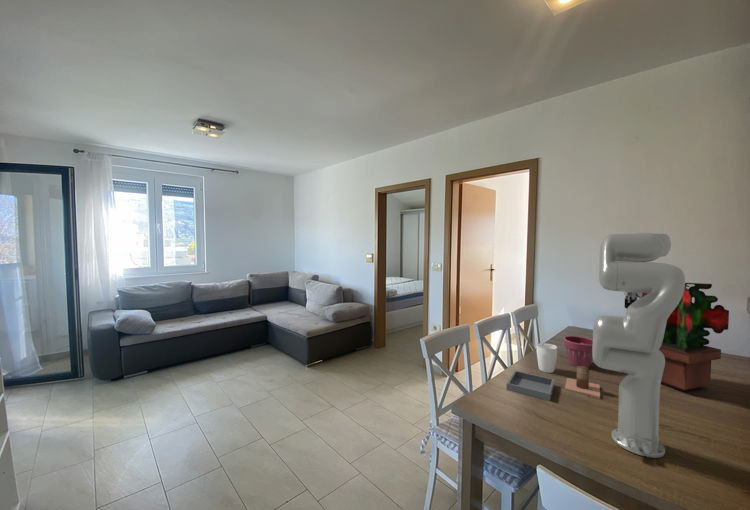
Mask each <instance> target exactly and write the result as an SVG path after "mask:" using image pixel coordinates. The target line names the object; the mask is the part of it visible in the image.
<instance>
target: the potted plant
mask: <svg viewBox="0 0 750 510" xmlns="http://www.w3.org/2000/svg"><path fill="white" fill-rule="evenodd" d="M690 285H692V286H690ZM712 287H713V284H712V283H702V282H701V283H700V282H699V283H697V282H685V288H684V292H683V295H682V298H681V300H680V302H679V304H678V305H677V307H676V308H675V309H674V310H673V312H672V313H671V314H670V316H669V317H668V319H667V323H666V328H665V333H664V338H663V342H662V345H661V347H660V348H659V350H660V351H661V352H662V353H663V355H664V357H665V367H664V371H663V375H662V379H661V385H664V386H666V387H669V388H671V389H674V390H676V391H679V392H687V391H691V390H696V389H697V388H698V389H701V388H702V387H706V386H710V385H711V376H712V375H711V374H712V361H715V360H721V359H722V349H720V348H716V347H712V346H708V345H709V344H710V340H709V339H708V338H705V337H708V336H710V334H711V333H710V331H709V330H708V329H710V330H711V329H712V331H713V332H714V333H715V334H723V332H724V331H728V330H729V320H730V318H729V317H730V311H729V310H728V309H726V308H725V307H724V306H723V305H722V304H716V305H714V306H713V307H712V303H713V304H715V303H717V302H718V301H719V298H718V297H717V296H715V295H707V294H705V292H704V291H703V290H709V289H711V288H712ZM647 294H648V293H642V297H644V296H646V295H647ZM639 298H640V297H639V296H638V295H637V299H639ZM693 298H694V301H693Z"/></svg>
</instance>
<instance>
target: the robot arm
mask: <svg viewBox="0 0 750 510" xmlns="http://www.w3.org/2000/svg"><path fill="white" fill-rule="evenodd" d="M671 242H672V241H671V238H670V236H669V234H667V233H652V232H637V233H612V234H608V235H606V236H604V238H603V239H602V241H601V244H600V247H599V264H598V265H599V267H598V269H599V270H598V278H599V280H598V281H599V284H600V286H601V287H602V288H603V289H604V290H607V291H612V292H623V293H624V296H625V297H624V308H625V309H626V310H625V312H626V313H625V317H624V316H618V315H617V316H616V315H601V316H598V317H597V318H596V319H595V320H594V323H593V329H592V330H593V331H592V340H593V345H592V357H593V359H592V362H594V365H596V366H597V367H599V368H600V369H604V370H608V371H614V372H618V373H625V374H627V375H626V376H625V377H623V378H622V379H621V381H620V383H619V386H618V411H617V413H618V415H617V419H618V421H617V428H615V429H613V430H612V431H611V439H612V440H613V442H615V444H617V445H618V446H620V447H621V448H622V449H625V451H628V452H631V453H633V454H636V455H639V456H642V457H645V456H646V457H647V458H653V459H654V458H655V459H656V458H657V459H658V458H662V457H664V456H665V454H666V448H665V446H664V445H663V444H662V443H661V442H660V441H659V429H660V428H659V427H660V426H659V425H660V420H659V419H660V398H661V385H662V384H661V379H662V375H663V371H664V367H665V357H664V355H663V353H662V352H661V351H660V350H659V348H660V347H661V345H662V342H663V338H664V333H665V328H666V323H667V319H668V317H669V316H670V314H671V313H672V312H673V310H674V309H675V308H676V307H677V305H678V304H679V302H680V300H681V298H682V295H683V292H684V288H685V283H686V277H685V274H684V272H683V270H682V269H681V268H679V267H678V266H676V265H673V264H669V263H664V262H653V261H656V260H657V259H658V260H659V258H661V257H663V258H664V257H667V255H669V253H670V251H671V247H672V243H671ZM642 293H648V294H647V295H646V296H644V297H642ZM637 295H638V296H639V297H640V298H638V297H637Z"/></svg>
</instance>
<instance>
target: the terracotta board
mask: <svg viewBox="0 0 750 510" xmlns="http://www.w3.org/2000/svg"><path fill="white" fill-rule="evenodd" d="M600 387H601V386H600V384H597V383H592V382H589V388H588V389H582V388H579V387H577V386H576V379H575V378H569V377H567V378H566V381H565V386H564V389H565V390H569V391H572V392H573V391H574V392H577V393H580V394H586V395H587V397H589V398H590V397H591V398H593V399H594V398H595V399H597V400H598V399H601V390H600V389H601V388H600Z"/></svg>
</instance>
